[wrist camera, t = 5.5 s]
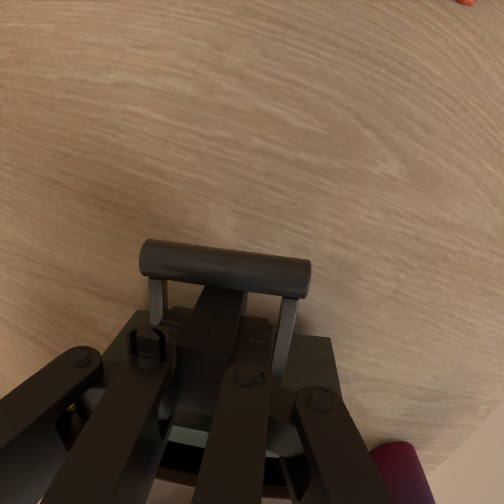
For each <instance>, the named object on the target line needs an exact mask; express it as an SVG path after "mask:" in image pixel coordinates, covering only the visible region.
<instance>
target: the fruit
mask: <svg viewBox="0 0 504 504" xmlns="http://www.w3.org/2000/svg"><path fill="white" fill-rule="evenodd" d="M454 1H455V2H458V3H459V4H462V5H467V6H472V5H473V4H474V2H475V0H454Z"/></svg>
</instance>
